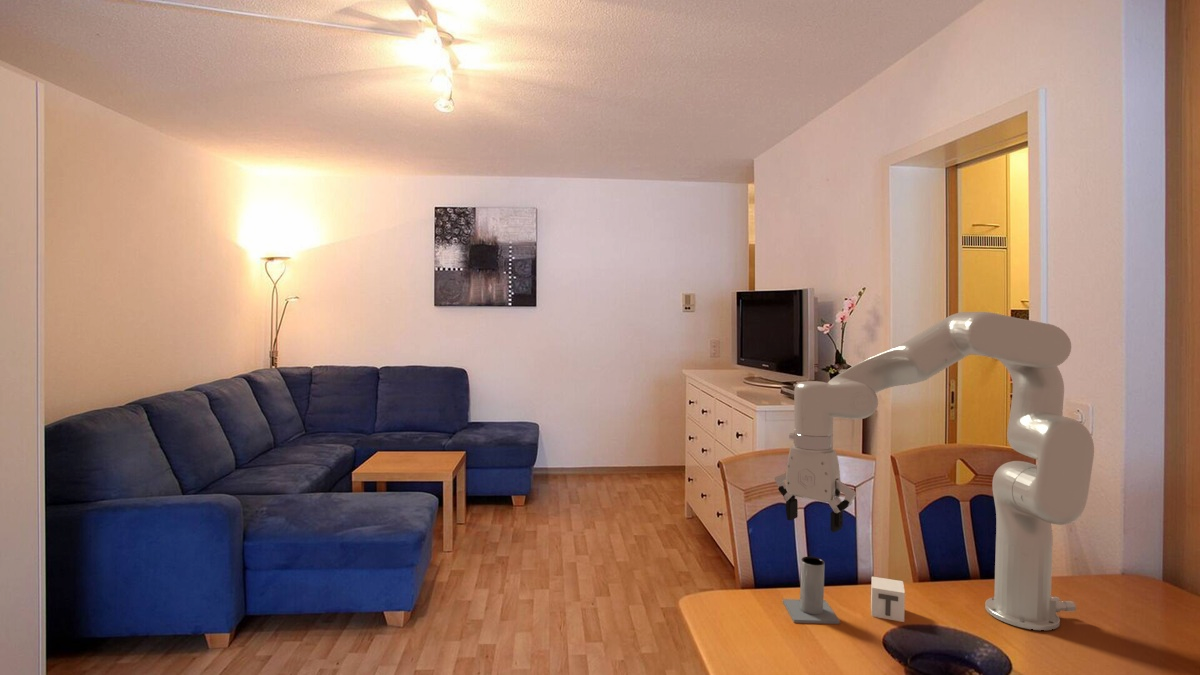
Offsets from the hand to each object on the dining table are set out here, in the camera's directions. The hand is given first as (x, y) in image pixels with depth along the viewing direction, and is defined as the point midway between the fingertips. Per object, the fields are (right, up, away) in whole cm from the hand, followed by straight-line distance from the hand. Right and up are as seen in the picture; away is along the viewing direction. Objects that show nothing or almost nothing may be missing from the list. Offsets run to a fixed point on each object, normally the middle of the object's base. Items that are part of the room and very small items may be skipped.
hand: (813, 524), depth 126 cm
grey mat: (0, -18, +1) cm, 18 cm away
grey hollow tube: (0, -18, +1) cm, 18 cm away
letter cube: (+16, -19, +1) cm, 24 cm away
